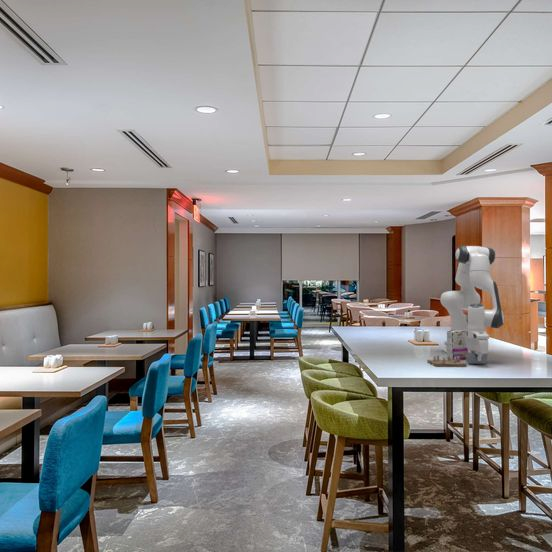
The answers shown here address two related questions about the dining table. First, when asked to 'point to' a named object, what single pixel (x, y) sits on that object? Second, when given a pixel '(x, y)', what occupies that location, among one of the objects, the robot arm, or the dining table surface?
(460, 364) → the pin tray
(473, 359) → the block
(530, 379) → the dining table surface
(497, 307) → the robot arm
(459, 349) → the candy bar box
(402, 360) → the dining table surface
